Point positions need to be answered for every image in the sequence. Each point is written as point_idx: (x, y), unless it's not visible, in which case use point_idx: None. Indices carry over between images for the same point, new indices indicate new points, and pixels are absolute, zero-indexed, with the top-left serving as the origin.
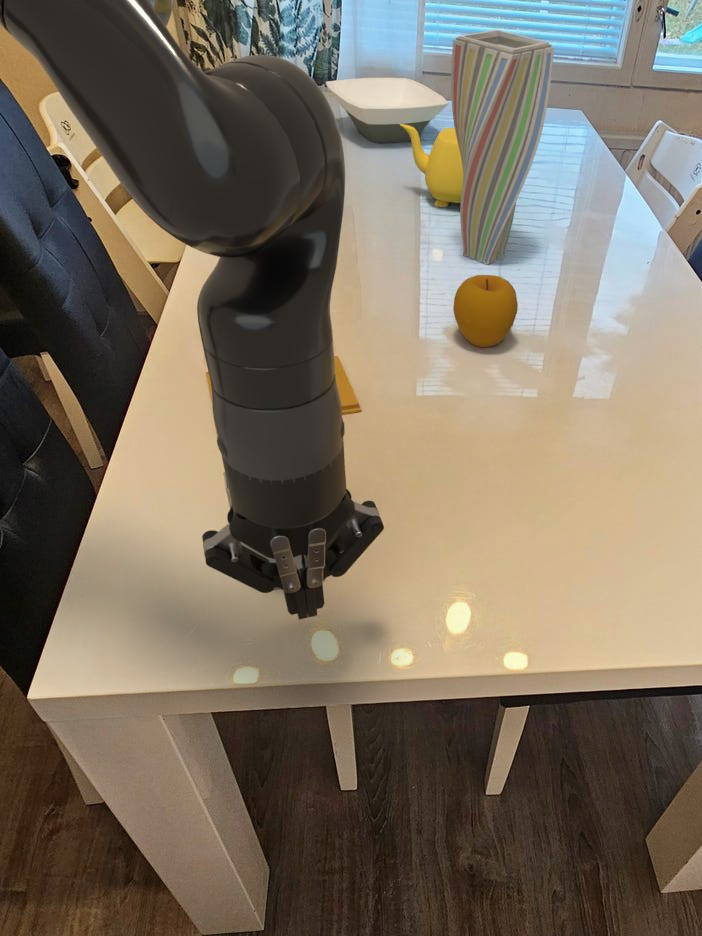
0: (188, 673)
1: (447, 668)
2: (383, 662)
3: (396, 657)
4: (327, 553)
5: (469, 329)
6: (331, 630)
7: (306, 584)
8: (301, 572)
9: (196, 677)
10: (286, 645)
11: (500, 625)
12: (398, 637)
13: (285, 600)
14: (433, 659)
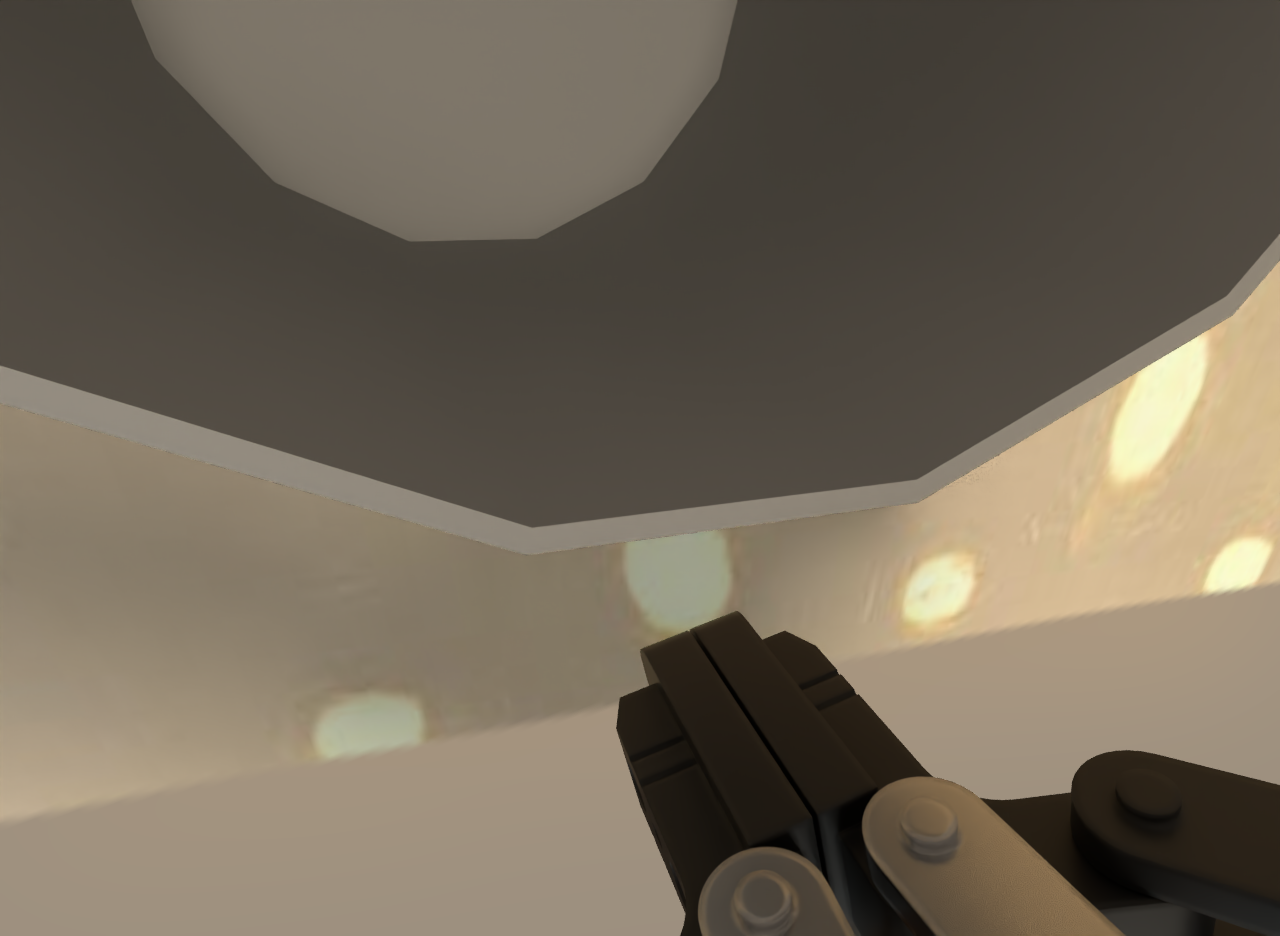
0: (89, 760)
1: (1057, 614)
2: (877, 616)
3: (922, 592)
4: (1147, 930)
5: None
6: None
7: (857, 928)
8: (829, 843)
9: (139, 771)
10: (519, 582)
11: (1259, 438)
12: (945, 510)
13: (621, 743)
14: (1029, 587)
